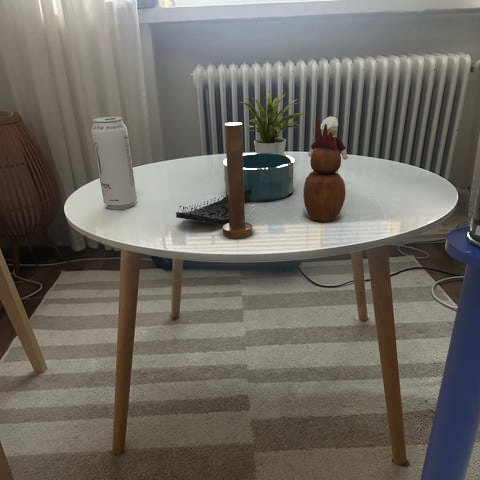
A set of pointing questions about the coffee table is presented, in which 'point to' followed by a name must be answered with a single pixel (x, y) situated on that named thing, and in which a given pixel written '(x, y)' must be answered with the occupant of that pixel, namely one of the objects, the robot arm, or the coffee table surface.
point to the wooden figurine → (324, 179)
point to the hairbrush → (210, 211)
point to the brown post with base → (235, 184)
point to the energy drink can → (114, 162)
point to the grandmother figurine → (332, 127)
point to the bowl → (266, 176)
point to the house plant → (270, 126)
